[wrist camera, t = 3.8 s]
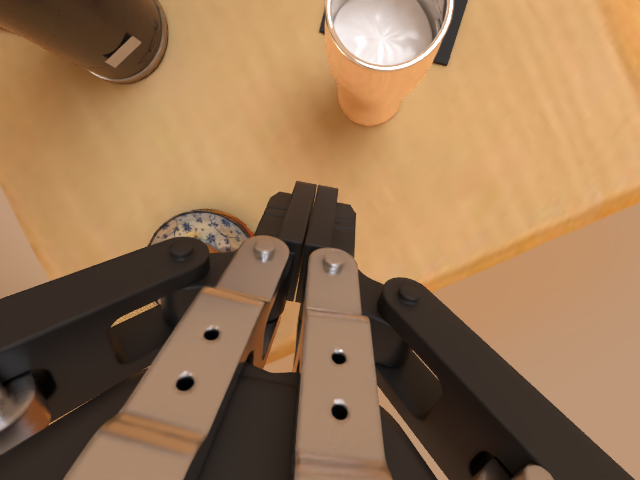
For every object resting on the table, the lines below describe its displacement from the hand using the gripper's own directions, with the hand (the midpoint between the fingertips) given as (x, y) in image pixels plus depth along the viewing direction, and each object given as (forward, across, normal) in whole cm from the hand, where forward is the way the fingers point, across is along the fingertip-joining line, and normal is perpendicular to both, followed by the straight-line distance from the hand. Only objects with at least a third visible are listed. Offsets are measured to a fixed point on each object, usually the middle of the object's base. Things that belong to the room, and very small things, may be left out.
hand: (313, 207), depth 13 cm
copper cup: (+24, -3, +1) cm, 24 cm away
